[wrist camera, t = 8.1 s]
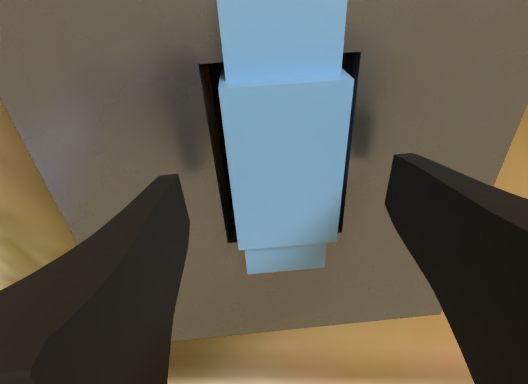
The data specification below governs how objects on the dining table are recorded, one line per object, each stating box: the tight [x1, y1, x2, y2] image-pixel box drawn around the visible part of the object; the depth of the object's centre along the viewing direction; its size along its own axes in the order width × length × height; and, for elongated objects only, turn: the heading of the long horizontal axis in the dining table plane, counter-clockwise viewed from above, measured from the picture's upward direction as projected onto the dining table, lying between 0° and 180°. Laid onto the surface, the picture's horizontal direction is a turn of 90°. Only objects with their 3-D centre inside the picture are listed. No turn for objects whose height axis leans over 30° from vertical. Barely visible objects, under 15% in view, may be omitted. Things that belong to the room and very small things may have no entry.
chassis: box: [0, 0, 528, 341], centre depth 14 cm, size 22×18×3 cm
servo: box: [217, 0, 354, 274], centre depth 13 cm, size 11×4×4 cm, turn 3°
